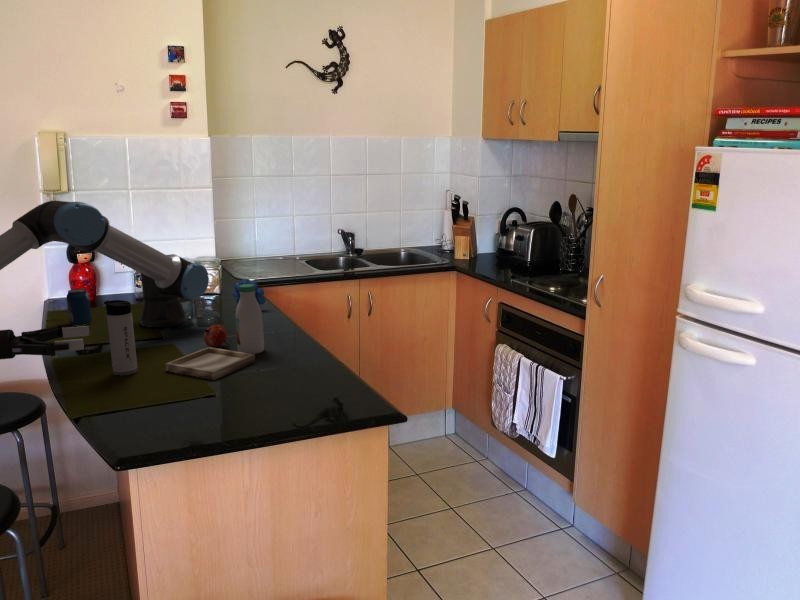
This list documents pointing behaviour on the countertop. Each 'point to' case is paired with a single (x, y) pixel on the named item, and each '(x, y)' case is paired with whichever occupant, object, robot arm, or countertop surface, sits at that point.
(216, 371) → the wood tray
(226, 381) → the countertop surface
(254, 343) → the milk bottle
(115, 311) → the travel mug
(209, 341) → the pomegranate
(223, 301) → the countertop surface
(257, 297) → the grapes
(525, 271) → the countertop surface
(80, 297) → the soda can
